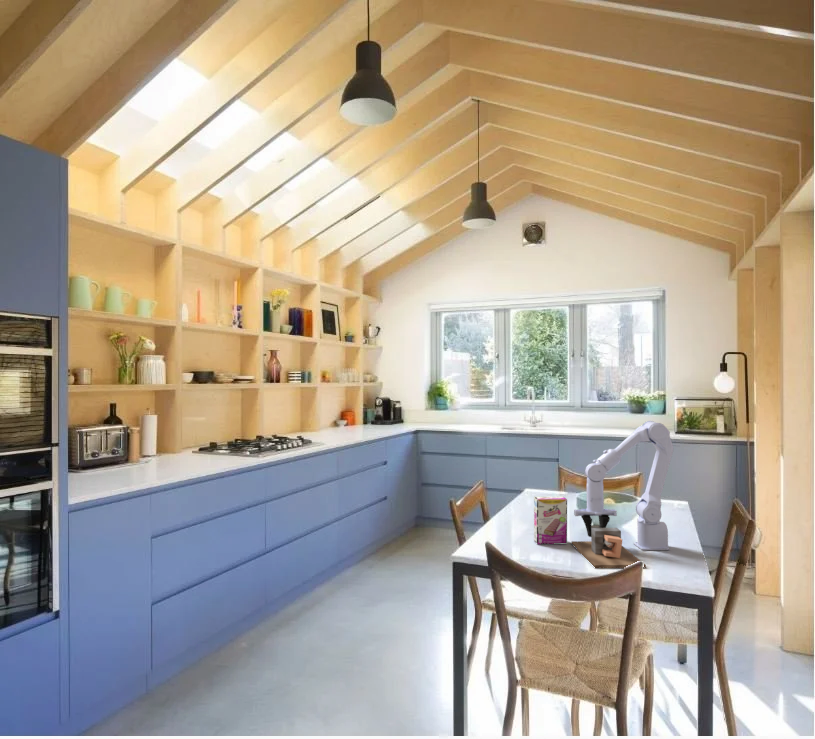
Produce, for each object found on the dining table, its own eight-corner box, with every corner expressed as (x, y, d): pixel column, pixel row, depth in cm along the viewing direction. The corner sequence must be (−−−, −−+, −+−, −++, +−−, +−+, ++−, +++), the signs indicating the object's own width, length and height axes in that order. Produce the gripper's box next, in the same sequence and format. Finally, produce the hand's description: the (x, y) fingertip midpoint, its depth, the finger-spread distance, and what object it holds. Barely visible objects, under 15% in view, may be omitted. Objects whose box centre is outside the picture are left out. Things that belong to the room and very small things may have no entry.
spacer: (601, 552, 191) (616, 554, 190) (605, 555, 187) (620, 558, 187) (604, 534, 191) (618, 536, 191) (607, 537, 187) (622, 539, 187)
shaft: (599, 535, 206) (599, 525, 206) (616, 549, 189) (616, 538, 189) (589, 535, 206) (589, 525, 206) (605, 549, 189) (605, 538, 189)
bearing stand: (616, 544, 206) (615, 519, 206) (645, 568, 180) (645, 540, 180) (571, 544, 206) (571, 519, 206) (594, 568, 180) (594, 540, 180)
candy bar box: (537, 545, 206) (536, 499, 206) (533, 541, 211) (533, 496, 211) (568, 544, 206) (567, 498, 206) (563, 540, 211) (563, 495, 211)
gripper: (578, 500, 200) (578, 539, 200) (619, 500, 200) (620, 539, 200) (572, 496, 208) (572, 533, 207) (612, 495, 207) (612, 533, 207)
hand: (595, 536), depth 204 cm, fingers closed on shaft, 4 cm apart
